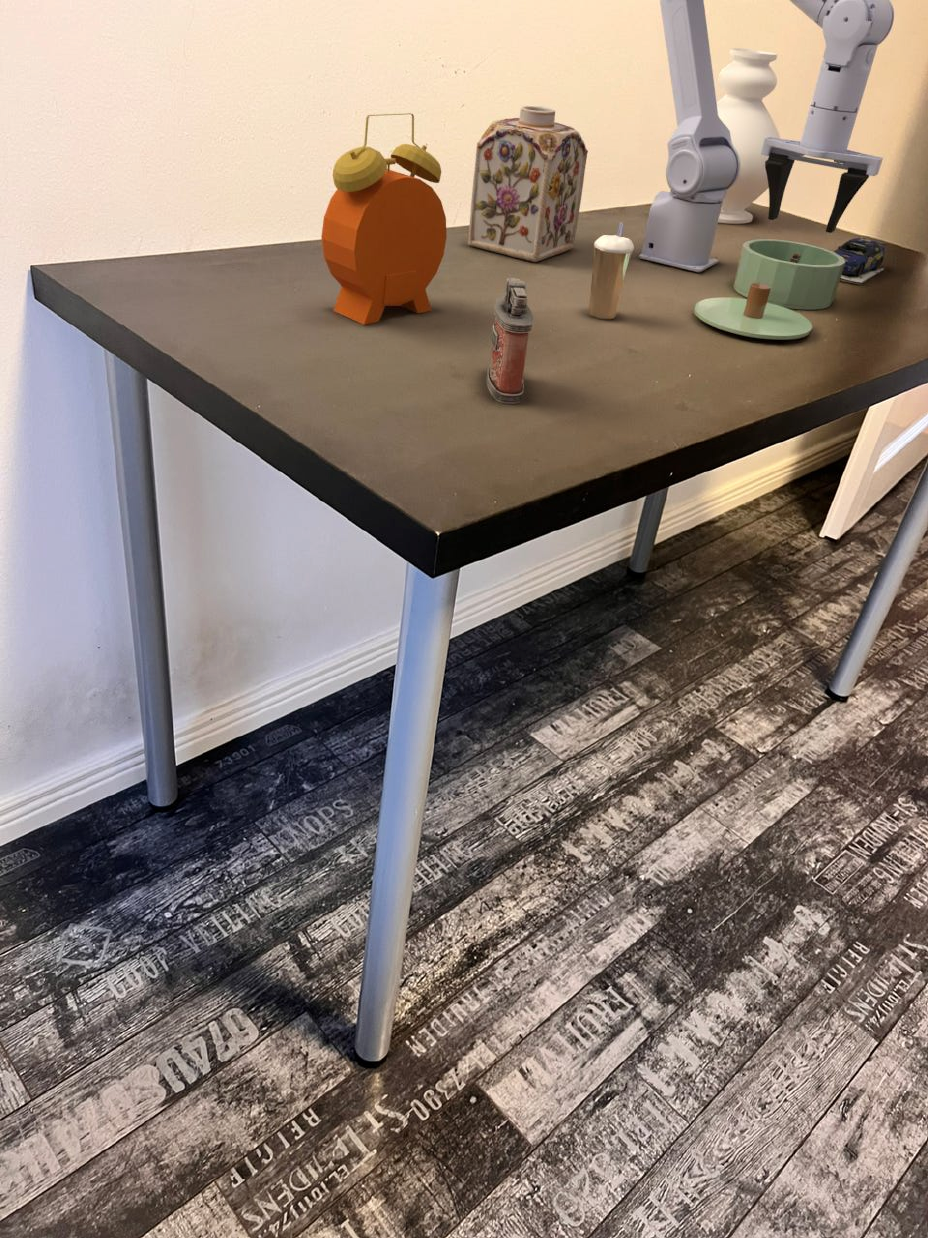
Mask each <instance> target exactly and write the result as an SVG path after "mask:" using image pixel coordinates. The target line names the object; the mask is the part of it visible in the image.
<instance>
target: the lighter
mask: <svg viewBox="0 0 928 1238" xmlns="http://www.w3.org/2000/svg"><path fill="white" fill-rule="evenodd" d="M526 286H527V285H526V281H524V280H523V281H522V280H521V279H518V278H515V277H509V278H507V279H506V285H505V294H504V296H501V297H497V298H496V299H495V303H494V310H493V314H494V315H493V316H494V319H495V320H494V323H493V324H492V329H491V346H492V348H491V356H490V364H489V365H488V368H487V375H486V385H487V389H488V391H489V393H490V395H491V396H492V397H493V398H494V400H495V401H497V402H500V403H502V404H511V405H513V404H519V403H521V402H522V401H523V395H524V389H525V388H524V387H525V383H524V371H525V365H526V357H527V349H528V341H529V335H530V332H531V331H532V326H533V319H534V316H533V312H532V310H531V308H530V307H529V306H528V295H527V291H526V289H527V287H526Z"/></svg>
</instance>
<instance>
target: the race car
mask: <svg viewBox="0 0 928 1238" xmlns="http://www.w3.org/2000/svg"><path fill="white" fill-rule="evenodd" d="M879 244H880V245H879ZM881 245H882V246H881ZM886 246H887V243H885V242H881V241H877V240H873V239H870V238H865V237H862V238H860V236H858V237H855V238H854V237H853V238H851V239H849V240H847V241H846V242H844V243H843V244H841V245H839V246H838V247H837V248H836V249H834V251H833V252H835V253H836V254H838V255H840V256H841V257H843V258H844V260H845V265H844V268H843V272H842V275H841V278H840V281H839V282H843V283H848V284H849V283H850V284H854V285H859V286H860V285H862V284H864V283H866V282H867V281H869V280H870V279H872V278H873V277H875V276H876V275H877V274H879V273H880V272H882V271H884V270H885V268H880V266H881V265H882V263H883V261H884V260H885V254H886V253H885V251H886V250H885V249H886Z"/></svg>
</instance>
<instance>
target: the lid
mask: <svg viewBox="0 0 928 1238" xmlns="http://www.w3.org/2000/svg"><path fill="white" fill-rule="evenodd" d="M770 290H771V287H770V286H769V285H766V284H762V283H752V284H751V286H750V289H749V293H748V297H746V298H741V297H728V296H727V297H721V296H720V297H710V298H705V299H702V300H699V301H698V302H696V303H695V305H694V308H693V312H694V313H693V314H694V315H695V316H696V317H697V318H698V319H699V320H700V321H702V322H704V323H705V324H707V325H710V326H712V327H714V328H716V329H719V330H721V331H724V332H729V333H730V334H731V333H732V334H735V335H738V336H743V337H746V338H747V337H748V338H754V339H761V340H762V339H763V340H774V341H775V340H776V341H777V340H778V341H779V340H781V341H784V340H785V341H787V340H797V339H802V338H805V337H807V336H808V335H810V334H811V332H812V329H813V325H812V322H811V321H810V320H809V319H808V318H807V317H806V316H804V315H803V314H801V313H799V312H797V311H794V310H793V309H790V308H784V307H781V306H778V305H774V304H770V303H767V301H768V297H769V293H770Z"/></svg>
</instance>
